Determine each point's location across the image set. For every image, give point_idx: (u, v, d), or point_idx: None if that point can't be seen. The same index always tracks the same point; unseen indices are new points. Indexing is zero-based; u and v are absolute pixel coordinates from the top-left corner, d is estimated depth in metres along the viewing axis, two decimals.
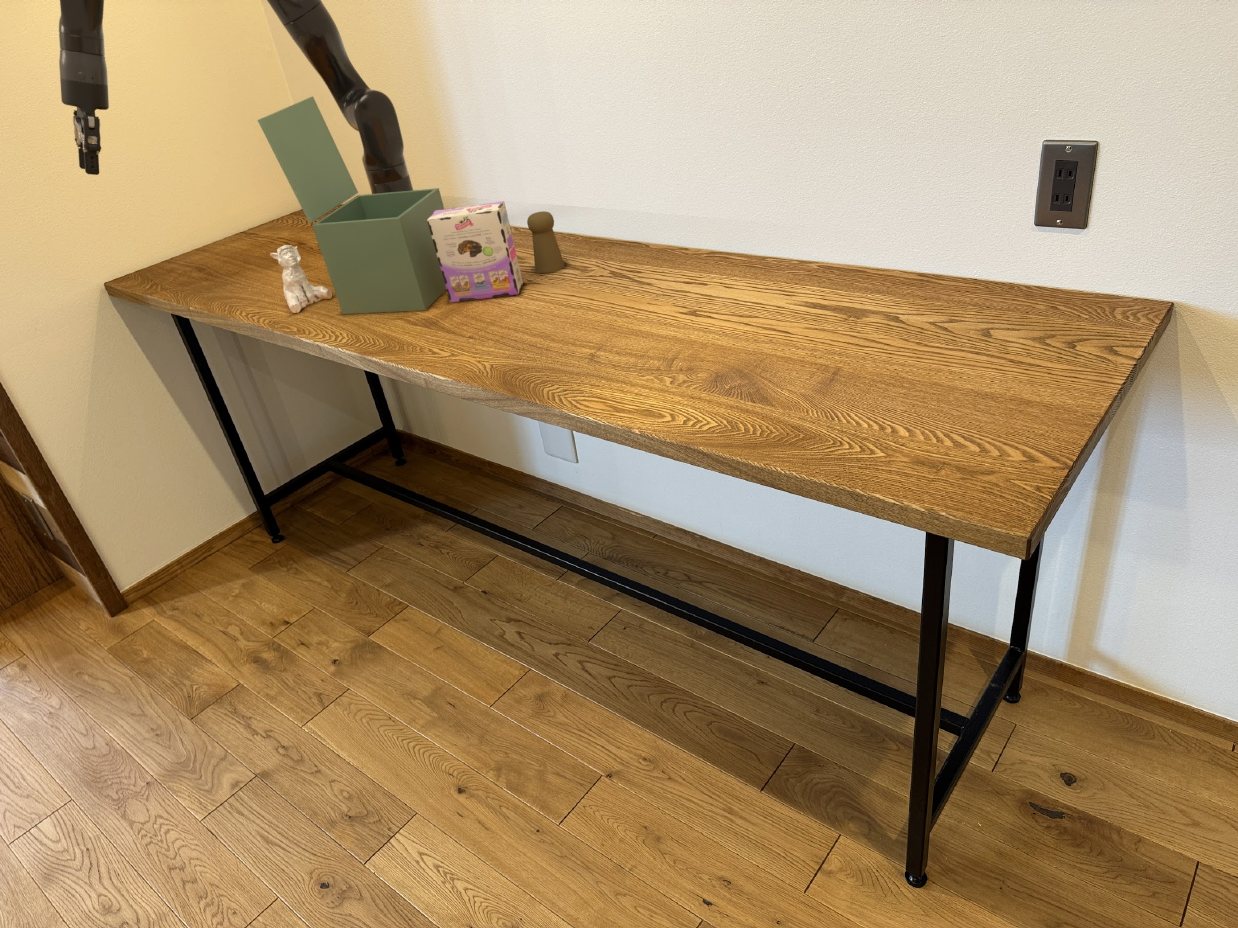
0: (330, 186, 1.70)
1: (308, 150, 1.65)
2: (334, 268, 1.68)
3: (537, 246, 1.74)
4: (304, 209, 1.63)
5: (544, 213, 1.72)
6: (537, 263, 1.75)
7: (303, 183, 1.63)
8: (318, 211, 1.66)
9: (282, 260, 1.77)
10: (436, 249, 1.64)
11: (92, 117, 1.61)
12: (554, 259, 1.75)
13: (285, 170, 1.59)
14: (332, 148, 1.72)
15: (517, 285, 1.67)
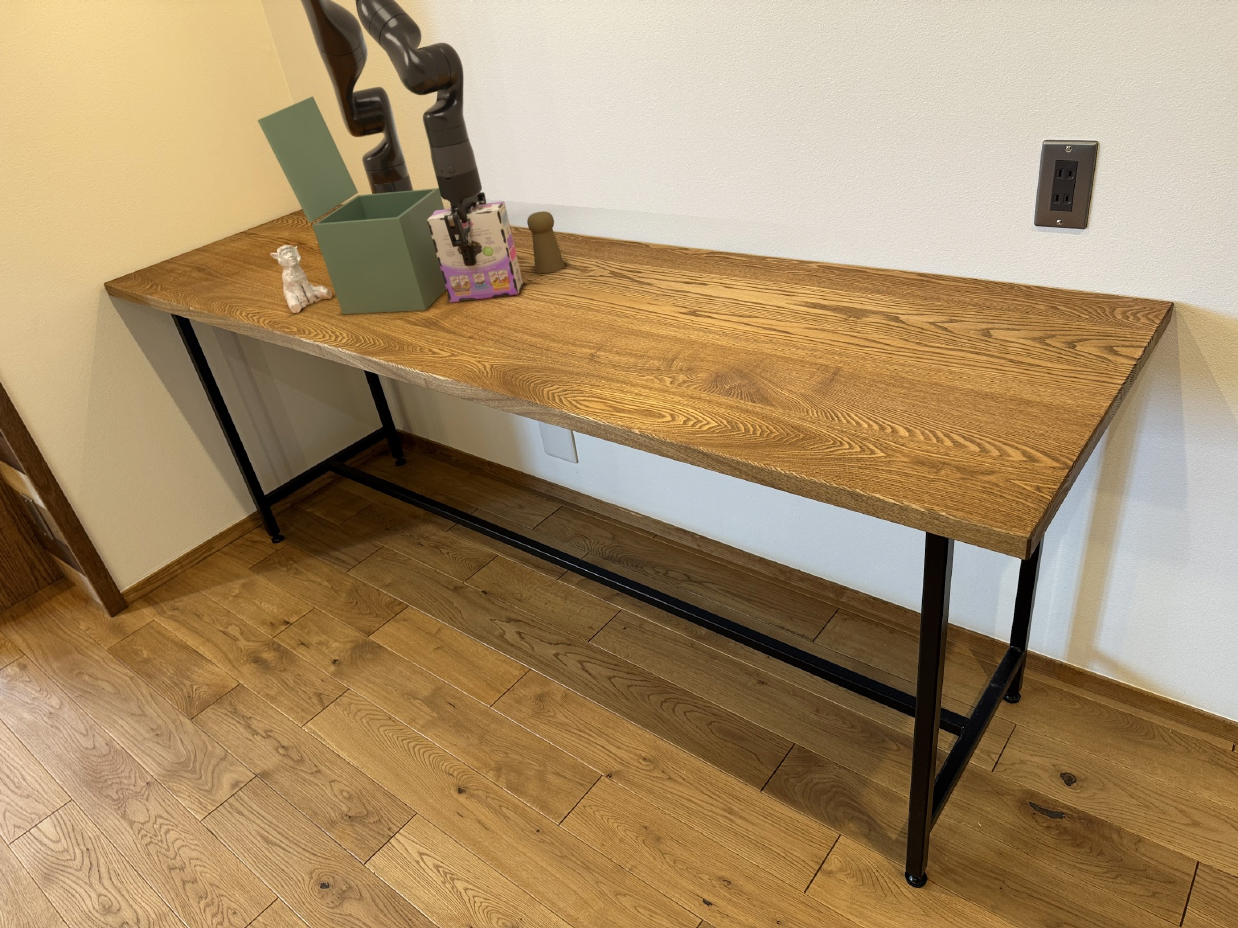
0: (330, 186, 1.70)
1: (308, 150, 1.65)
2: (334, 268, 1.68)
3: (537, 246, 1.74)
4: (304, 209, 1.63)
5: (544, 213, 1.72)
6: (537, 263, 1.75)
7: (303, 183, 1.63)
8: (318, 211, 1.66)
9: (282, 260, 1.77)
10: (436, 249, 1.64)
11: None
12: (554, 259, 1.75)
13: (285, 170, 1.59)
14: (332, 148, 1.72)
15: (517, 285, 1.67)
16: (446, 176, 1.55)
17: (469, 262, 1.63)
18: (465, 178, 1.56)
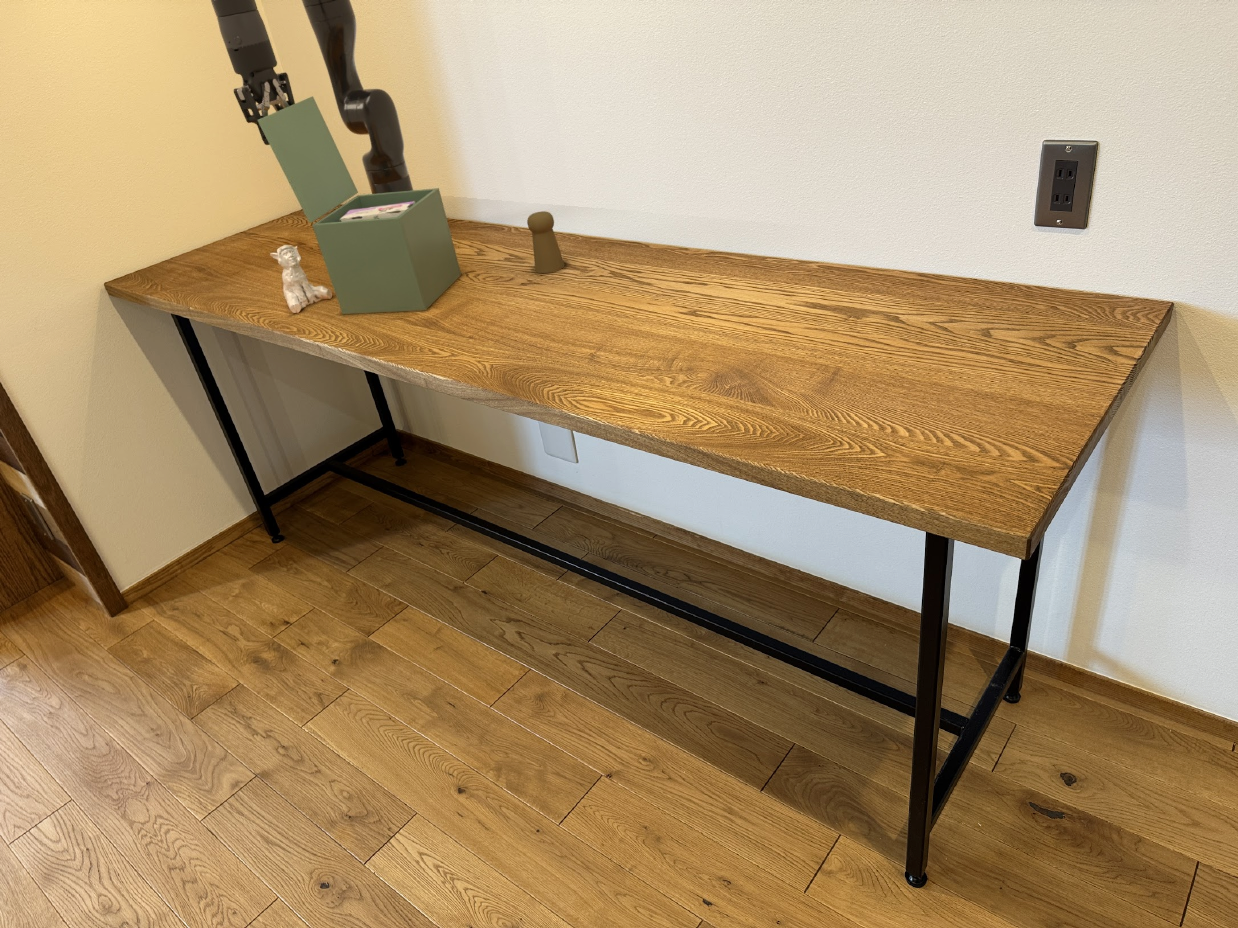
0: (330, 186, 1.70)
1: (308, 150, 1.65)
2: (334, 268, 1.68)
3: (537, 246, 1.74)
4: (304, 209, 1.63)
5: (544, 213, 1.72)
6: (537, 263, 1.75)
7: (303, 183, 1.63)
8: (318, 211, 1.66)
9: (282, 260, 1.77)
10: None
11: None
12: (554, 259, 1.75)
13: (285, 170, 1.59)
14: (332, 148, 1.72)
15: None
16: (234, 47, 1.54)
17: (267, 140, 1.62)
18: (254, 50, 1.55)
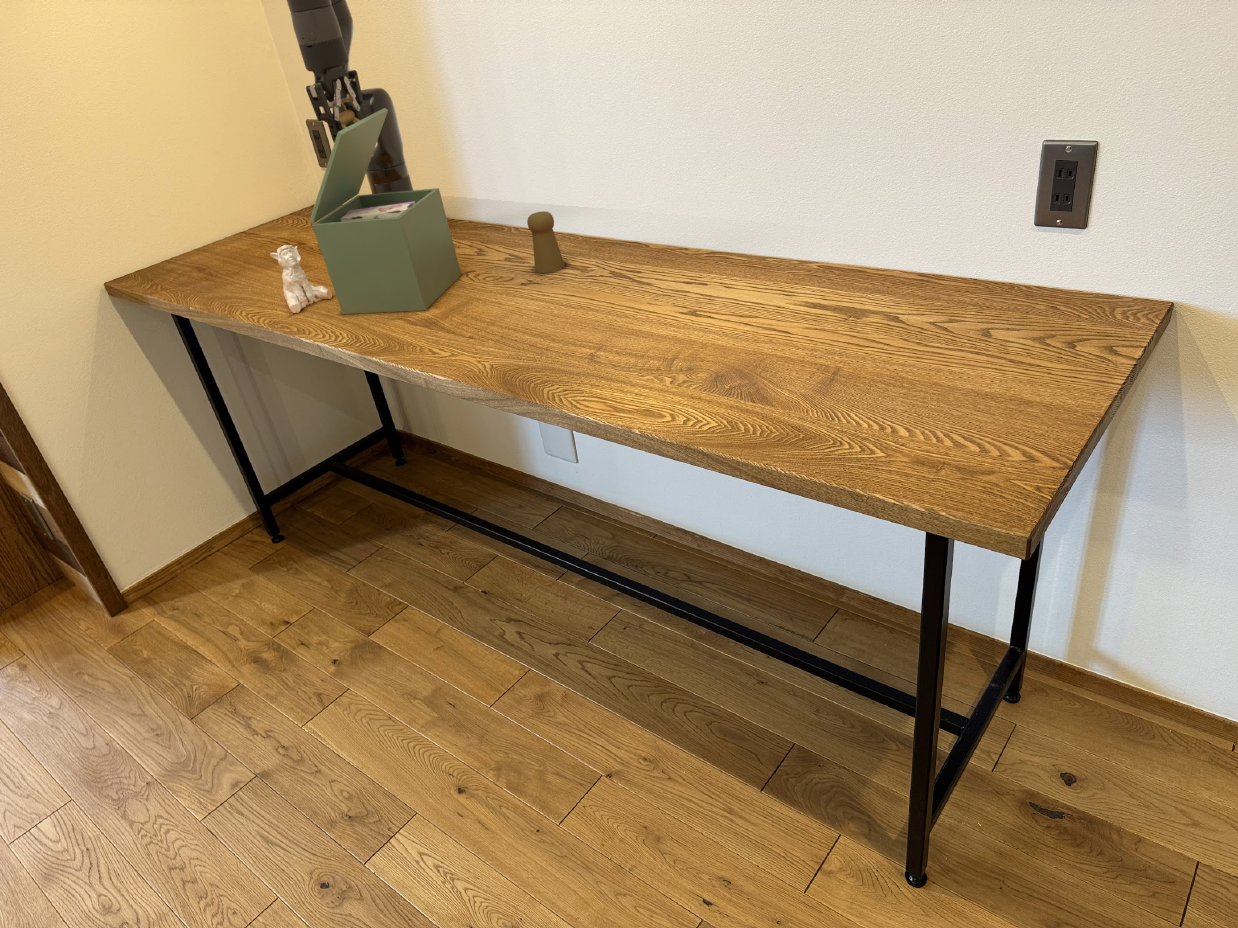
0: (345, 190, 1.70)
1: (352, 159, 1.64)
2: (334, 268, 1.68)
3: (537, 246, 1.74)
4: (314, 211, 1.62)
5: (544, 213, 1.72)
6: (537, 263, 1.75)
7: (330, 189, 1.62)
8: (322, 213, 1.66)
9: (282, 260, 1.77)
10: None
11: None
12: (554, 259, 1.75)
13: (326, 178, 1.58)
14: (368, 156, 1.71)
15: None
16: (307, 44, 1.51)
17: None
18: (327, 46, 1.51)
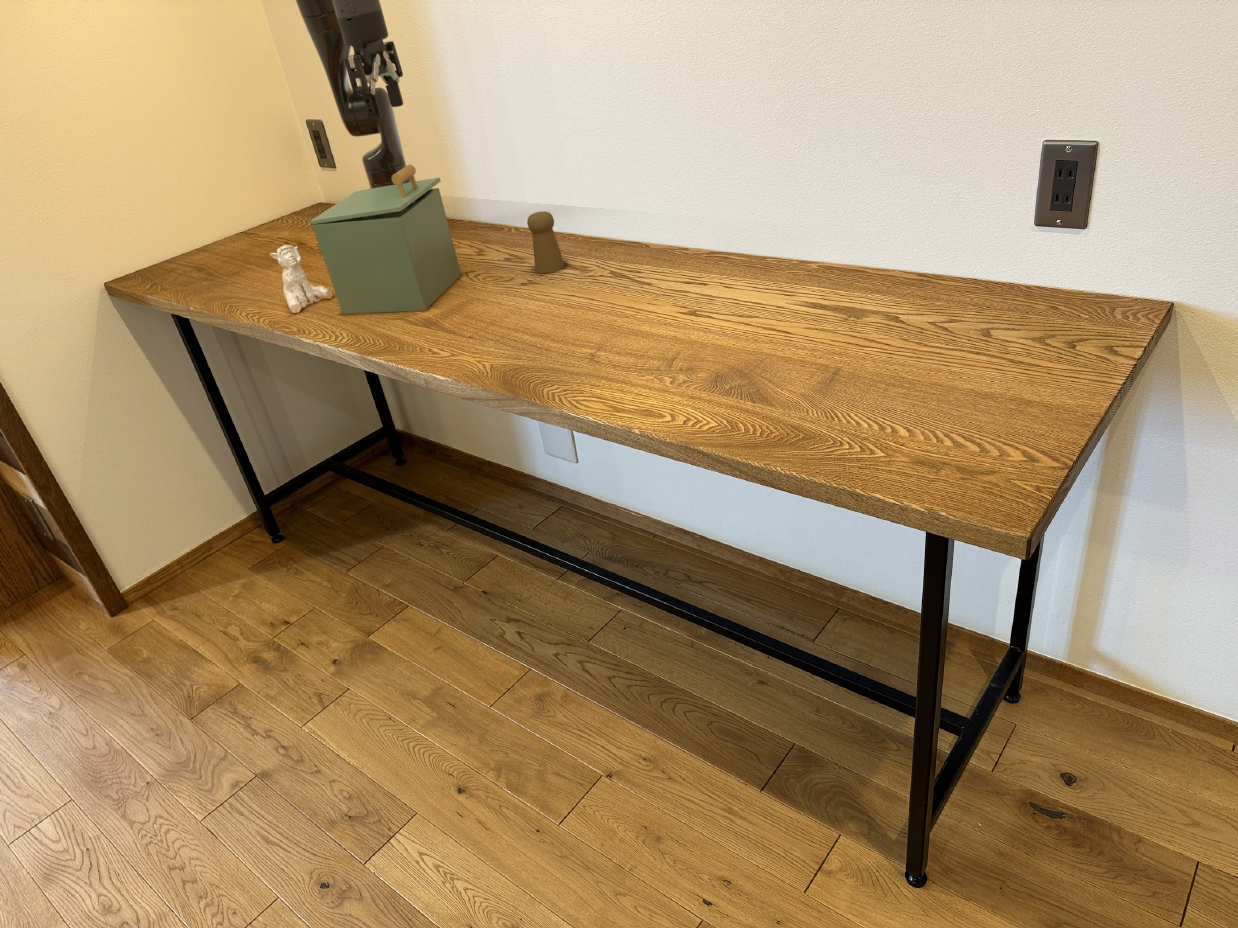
0: None
1: None
2: (334, 268, 1.68)
3: (537, 246, 1.74)
4: (322, 221, 1.63)
5: (544, 213, 1.72)
6: (537, 263, 1.75)
7: None
8: None
9: (282, 260, 1.77)
10: None
11: None
12: (554, 259, 1.75)
13: (356, 216, 1.61)
14: None
15: None
16: (347, 17, 1.46)
17: (373, 114, 1.53)
18: (367, 19, 1.47)
